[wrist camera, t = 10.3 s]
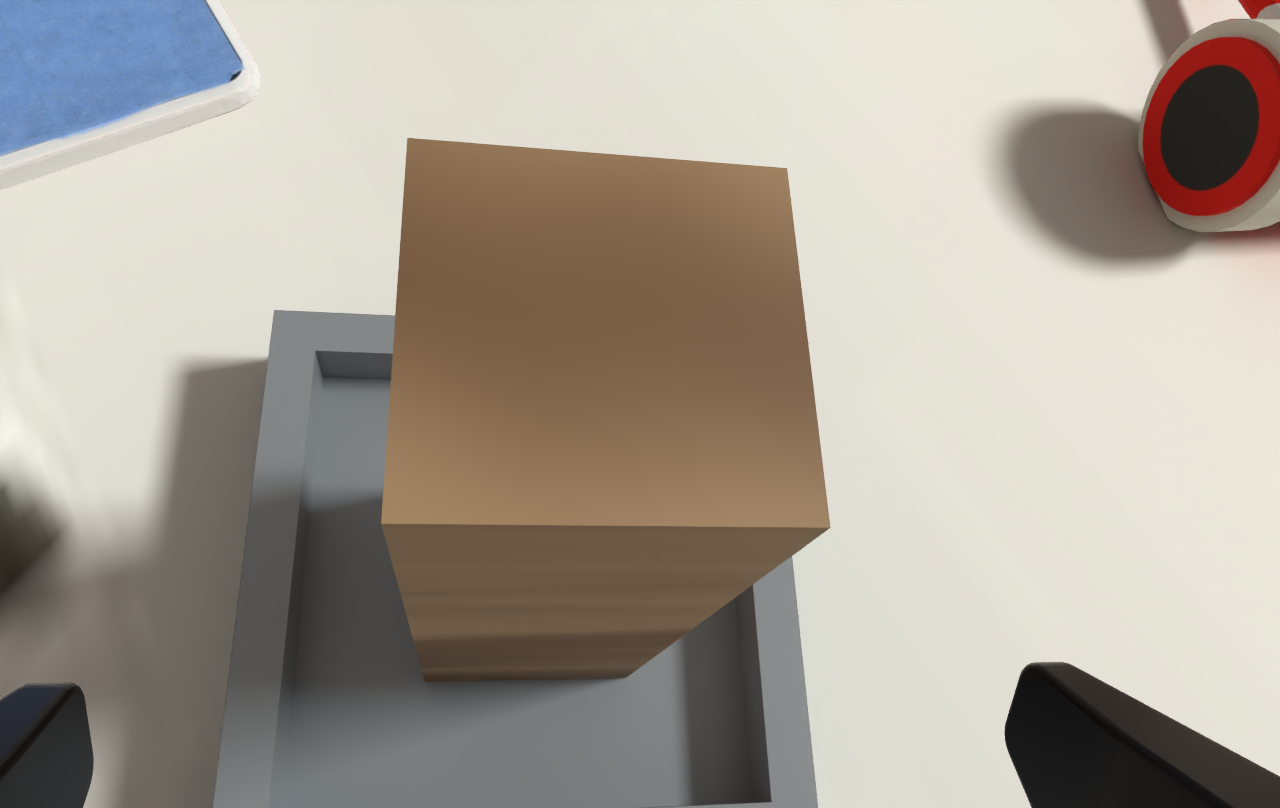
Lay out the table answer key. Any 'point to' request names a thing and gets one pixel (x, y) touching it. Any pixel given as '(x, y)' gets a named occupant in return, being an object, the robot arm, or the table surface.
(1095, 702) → the robot arm
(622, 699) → the tray
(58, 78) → the tablet computer
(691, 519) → the walnut block
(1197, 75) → the toy hammer
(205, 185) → the table surface
